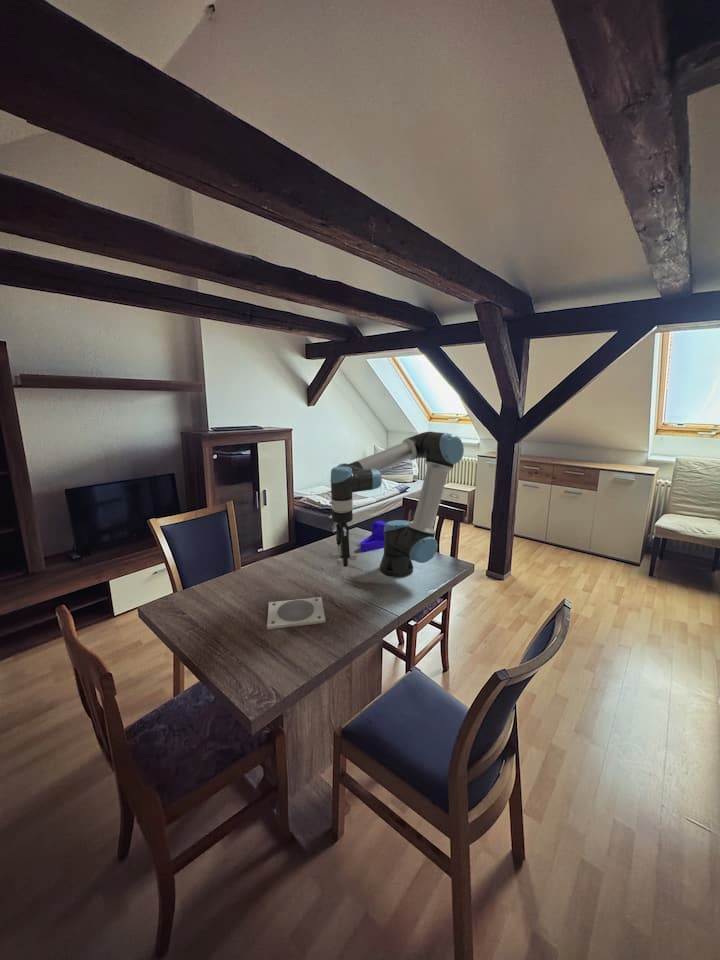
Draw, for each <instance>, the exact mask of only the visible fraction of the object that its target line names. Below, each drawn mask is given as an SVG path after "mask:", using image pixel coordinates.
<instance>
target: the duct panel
mask: <svg viewBox="0 0 720 960" xmlns="http://www.w3.org/2000/svg"><path fill="white" fill-rule="evenodd" d="M326 622H327V621H326V616H325V610H324V603H323V599H322V596H320V597H319V596H318V597H310V598H298V599H291V600H290V599H289V600H287V599H286V600H279V601H268V610H267V622H266V630H272V629H273V630H275V629H281V628H282V629H283V628H291V627H300V626H301V627H302V626H309V625H316V624H317V625H318V624H319V625H320V624H325V623H326Z"/></svg>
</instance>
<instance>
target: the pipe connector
mask: <svg viewBox="0 0 720 960" xmlns="http://www.w3.org/2000/svg"><path fill="white" fill-rule="evenodd" d="M340 556H342V554H341V544H340V554H337V553H332V552H331V553H329V554H328V558H329V559H338V561H337V560H336V563H337V566H340V567H341V558H340ZM356 560H357V555H356V554H350V558H349V561H356Z"/></svg>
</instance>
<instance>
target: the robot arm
mask: <svg viewBox="0 0 720 960" xmlns="http://www.w3.org/2000/svg"><path fill="white" fill-rule="evenodd" d="M464 451H465V450H464V444H463V442H462V439H461V438H460V437H459V436H458V435H456V434H453V433H448V432H438V431H437V432H436V431H425V432H420V433H418V434H415V435H412V436H410V437H407V438H405V439H403V440H402V442H401V443H399V444H396V445H394V446H390V447H389V448H386V449H384V450H381V451H379V452H376V453H373V454H370V455H368V456H366V457H364V458H361V459H358V460H355V461H352V462H351V463H339V464H338V465H337V466H335V467H333V468H331V470H330V480H329V481H330V494H331V495H330V496H331V499H330V500H331V501H329V504H330V505H331V521H332V522H334V523H336V524H335V525H336V526H335V527H336V536H335V537H336V539H335V541H336V545H337V546H336V554H340V544H341V554H342V556H340V558H341V566H340V571H341V572H340V573H341V575H350V560H349V558H350V555H351V554H350V537H349V534H350V533H349V532H350V531H349V525H348V523H350V522H352V521H353V506H354V505H353V503H354V502H353V493H359V492H364V491H372V490H376V489H379V488H380V487H381V486H382V483H383V481H382V480H383V479H382V478H383V477H382V473H381V472H382V471H383V470H387V469H389V468H391V467H394V466H396V465H398V464H401V463H402V462H405V461H408V460H409V461H413V460H417V459H425V461H424V462H425V464H426V466H427V468H426V472H425V475H424V479H423V483H422V486H421V491H420V494H419V498H418V502H417V505H416V509H415V513H414V516H413V520H412V522H411V521H409V520H405V519H403V520H402V519H398V520H397V519H395V520H389V521H386V522H387V523H386V524H385V526H384V548H383V556H382V557H381V561H380V563H379V571H380V573H381V574H382V575H384V576H387V577H391V578H405V577H408V576H411V575H412V574H413V573H414V565H413V562H415V563H416V562H417V563H419V564H420V563H421V564H425V563H427V562H429V561H430V560H432V559H433V558H434V557H435V555H436V553H437V551H438V545H439V544H438V541H437V540H436V538H435V535H436V531H435V529H434V526H435V522H436V518H437V514H438V510H439V507H440V503H441V499H442V496H443V492H444V489H445V485H446V481H447V477H448V473H449V472H450V471H452V470H453V469H454V466H455V465H456V464H458V463H459V462H460V461H461V460H462V458H463V456H464V453H465V452H464ZM337 561H338V559H337V560H336V562H337Z"/></svg>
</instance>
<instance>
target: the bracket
mask: <svg viewBox="0 0 720 960" xmlns="http://www.w3.org/2000/svg"><path fill="white" fill-rule="evenodd" d="M387 522H388V521H383V520H376V521H374V522H372V523H371V535H369V536H367V538H365V539H363V540H362V541H361V542H359V544H360V545H359V546H360V550H359V551H360V552H361V553H366V552H371V551H376V550H380V549H384V526H385V524H386V523H387Z"/></svg>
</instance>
